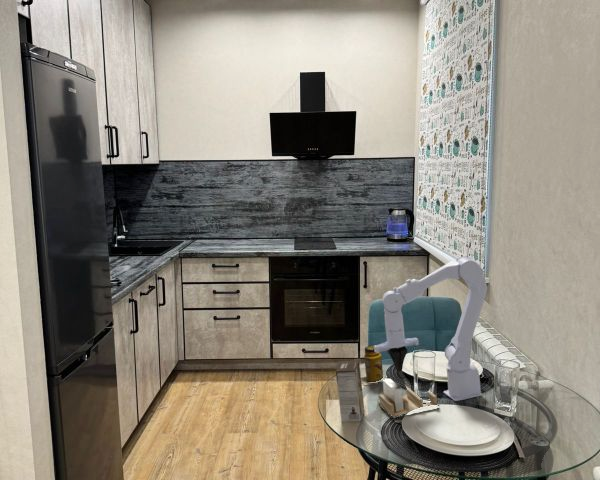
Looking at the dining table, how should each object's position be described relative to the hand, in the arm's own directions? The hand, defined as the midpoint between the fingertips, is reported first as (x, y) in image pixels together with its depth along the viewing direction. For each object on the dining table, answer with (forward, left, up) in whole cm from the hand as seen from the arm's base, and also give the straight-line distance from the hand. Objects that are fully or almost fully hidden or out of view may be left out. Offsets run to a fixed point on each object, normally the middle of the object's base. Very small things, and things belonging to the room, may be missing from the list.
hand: (398, 370), depth 178 cm
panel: (+5, +6, -9) cm, 11 cm away
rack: (0, +6, -10) cm, 11 cm away
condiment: (+2, -20, -10) cm, 23 cm away
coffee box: (+18, +4, -10) cm, 21 cm away
